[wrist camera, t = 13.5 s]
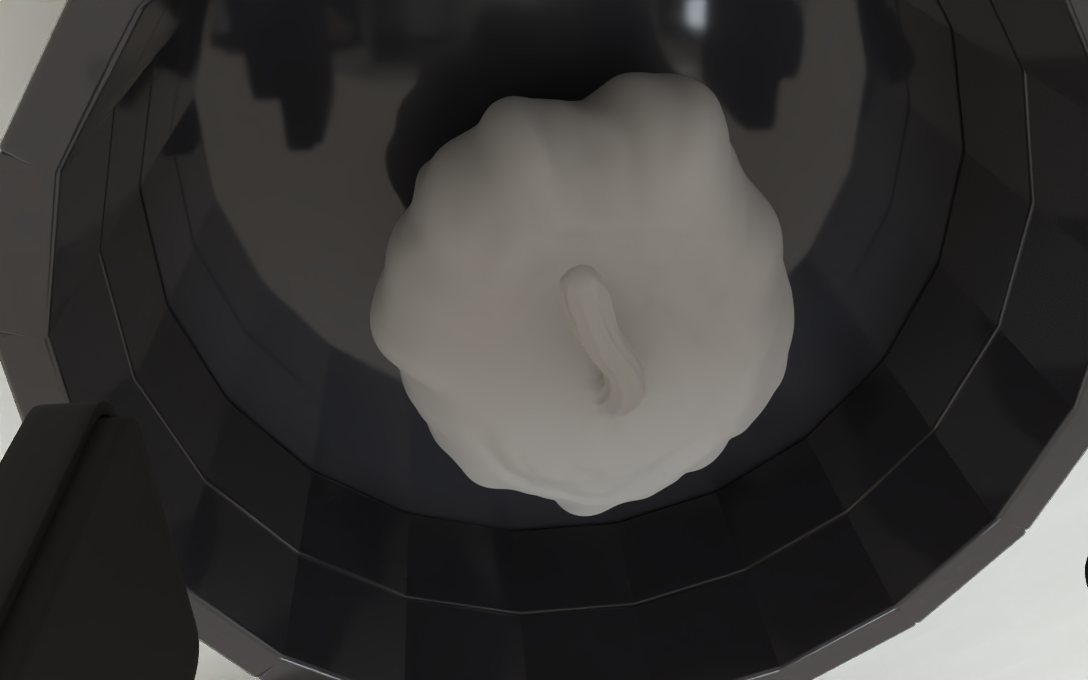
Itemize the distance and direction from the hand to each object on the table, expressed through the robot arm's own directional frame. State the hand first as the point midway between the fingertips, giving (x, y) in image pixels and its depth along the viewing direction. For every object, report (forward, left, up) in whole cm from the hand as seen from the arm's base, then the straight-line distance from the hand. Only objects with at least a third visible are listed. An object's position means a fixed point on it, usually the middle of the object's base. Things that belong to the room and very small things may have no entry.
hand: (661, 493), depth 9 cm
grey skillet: (0, 0, -7) cm, 7 cm away
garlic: (0, 0, -7) cm, 7 cm away
